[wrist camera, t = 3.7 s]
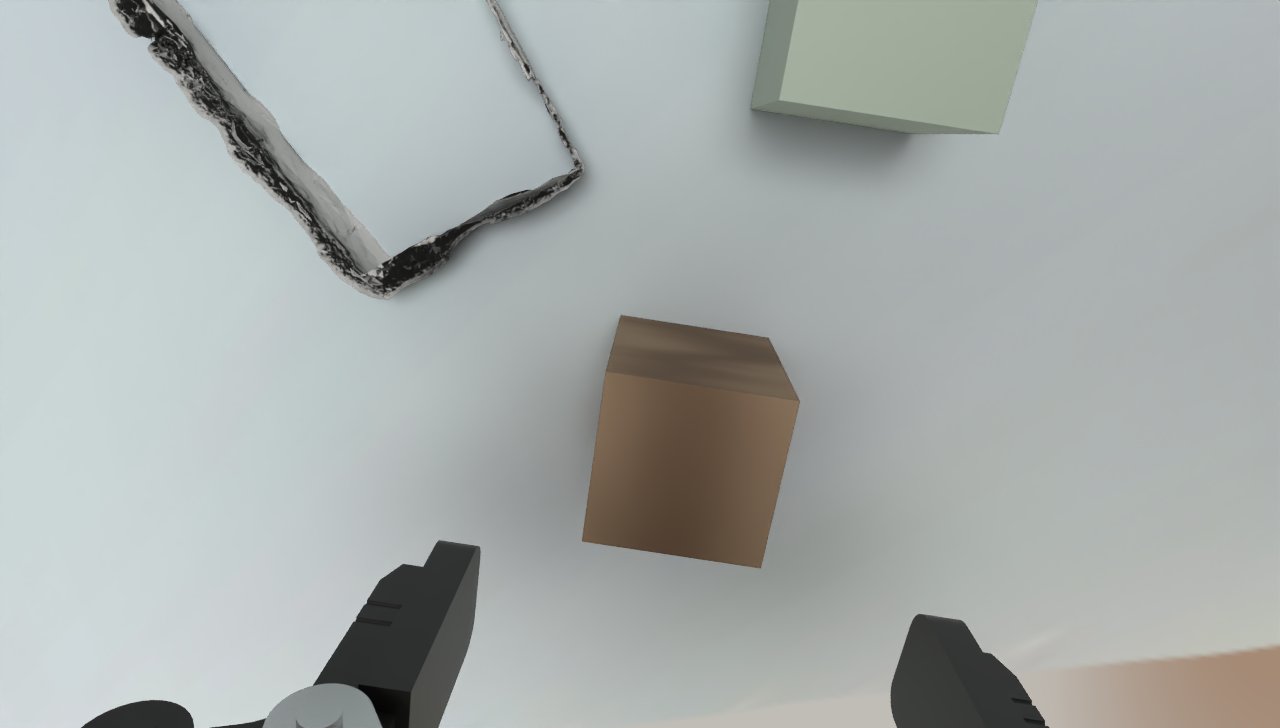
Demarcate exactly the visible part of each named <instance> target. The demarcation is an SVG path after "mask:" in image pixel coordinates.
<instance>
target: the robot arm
mask: <svg viewBox="0 0 1280 728" xmlns="http://www.w3.org/2000/svg"><path fill="white" fill-rule="evenodd" d="M479 565H480V547H479V546H474V545H467V544H460V543H454V542H447V541H440V540H439V541H438V542H437V543H436V545H435V547H434V549H433V550H432V552H431V554H430V556H429V558H428V559H427V561H426V563H425V565H424V567H420V566H413V565H406V564H402V565H401V566H400V567H398V568H397V569H395V570H394V571H392V572H391V573H389V574H388V575H387V576H385V577H384V578H382V579H381V580H380V581H379V583H378V584H377V586H376V587H375V589H374V591H373V592H372V594H371V595H370V597H369V598H368V600H367V604H365V605H364V606H363V608H362V609H361V611H360V613H359V614H358V616H357V618H356V621H355V622H353V623H352V625H351V627H350V628H349V630H348V631H347V633H346V634H345V636H344V638H343V639H342V641H341V642H340V644H339V645H338V647H337V649H336V650H335V652H334V653H333V655H332V656H331V658H330V660H329V661H328V663H327V664H326V666H325V667H324V669H323V671H322V672H321V674H320V675H319V677H318V678H317V680H316V682H315V683H314V685H313V686H311V687H307V688H305V689H302V690H299V691H297V692H295V693H293V694H291V695H290V696H288V697H287V698H285V699H283V700H282V701H281V702H280V703H279V704H277V705H276V706H275V707H274V709H273V710H272V711H271V712H270V713H269V715H268V716H267V718H266V719H262V720H259V721H255V722H251V723H245V724H238V725H229V726H221V727H212V728H438V727H439V724H440V721H441V719H442V716H443V713H444V711H445V708H446V706H447V703H448V700H449V698H450V695H451V692H452V690H453V687H454V685H455V682H456V679H457V677H458V674H459V672H460V669H461V666H462V664H463V661H464V658H465V656H466V653H467V650H468V647H469V643H470V639H471V635H472V630H473V624H474V618H475V607H476V597H477V586H478V576H479ZM891 709H892V714H893V718H894V721H895V723H896V726H897V728H1049V727H1048V726H1045V720H1044V719H1043V717H1042V716H1041V714H1040V713H1039V711H1038V710H1037V708H1036V706H1033V705H1032V700H1031V699H1030V697H1029V696H1028V694H1027V693H1026V691H1025V689H1024V688H1023V686H1022V685H1021V683H1020V682H1019V680H1018V679H1017V677H1016V676H1015V675H1014V674H1013V673H1012V672H1011V671H1010V670H1008V669H1007V668H1006V667H1005V666H1004V665H1003V664H1002V663H1001V662H1000V661H999V660H997V659H996V658H995V657H994V656H993V655H992V654H990V653H984V652H982V650H981V648H980V647H979V645H978V643H977V642H976V640H975V639H974V637H973V635H972V634H971V632H970V630H969V629H968V627H967V626H966V624H965V623H964V622H963V621H961V620H956V619H950V618H943V617H936V616H930V615H923V614H918V615H917V616H915V618H914V619H913V621H912V623H911V626H910V629H909V632H908V635H907V638H906V641H905V644H904V647H903V650H902V653H901V656H900V659H899V662H898V665H897V668H896V672H895V675H894V678H893V681H892V686H891ZM81 728H194V724H193V719H192V717H191V715H190V713H189V712H188V711H187V710H186V709H185V708H184V707H182V706H180V705H178V704H176V703H173V702H168V701H163V700H149V701H140V702H135V703H130V704H127V705H123V706H120V707H117V708H115V709H112V710H110V711H107V712H105V713H103V714H101V715H99V716H97V717H96V718H94V719H93V720H91V721H90V722H88V723H87V724H85V725H84V726H83V727H81Z"/></svg>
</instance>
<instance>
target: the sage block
mask: <svg viewBox="0 0 1280 728" xmlns="http://www.w3.org/2000/svg"><path fill="white" fill-rule="evenodd" d="M1037 2H1038V0H770V3H769V9H768V14H767V20H766V25H765V31H764V36H763V42H762V47H761V52H760V58H759V63H758V69H757V74H756V80H755V85H754V91H753V96H752V102H751V107H750V109H754V110H761V111H767V112H774V113H780V114H787V115H793V116H800V117H806V118H813V119H819V120H826V121H832V122H839V123H845V124H852V125H858V126H865V127H871V128H878V129H884V130H891V131H897V132H904V133H910V134H999V133H1000V129H1001V126H1002V122H1003V119H1004V115H1005V112H1006V109H1007V105H1008V102H1009V98H1010V95H1011V91H1012V88H1013V85H1014V81H1015V78H1016V74H1017V71H1018V67H1019V64H1020V60H1021V57H1022V54H1023V50H1024V47H1025V43H1026V40H1027V36H1028V33H1029V30H1030V26H1031V23H1032V19H1033V16H1034V12H1035V9H1036V6H1037Z"/></svg>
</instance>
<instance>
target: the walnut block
mask: <svg viewBox="0 0 1280 728" xmlns="http://www.w3.org/2000/svg"><path fill="white" fill-rule="evenodd" d="M799 403H800V401H799V399H798V397H797V394H796V392H795V390H794V388H793V386H792V384H791V382H790V380H789V378H788V376H787V374H786V372H785V370H784V368H783V366H782V364H781V362H780V360H779V358H778V356H777V354H776V352H775V350H774V348H773V346H772V344H771V342H770V340H769V338H766V337H759V336H753V335H746V334H740V333H733V332H727V331H720V330H714V329H707V328H701V327H694V326H688V325H681V324H675V323H668V322H662V321H655V320H649V319H642V318H636V317H629V316H623V315H621V317H620V320H619V324H618V328H617V332H616V335H615V339H614V343H613V347H612V350H611V354H610V358H609V361H608V365H607V369H606V374H605V381H604V388H603V395H602V402H601V409H600V416H599V423H598V430H597V437H596V445H595V452H594V459H593V466H592V473H591V480H590V487H589V494H588V501H587V508H586V516H585V523H584V530H583V537H582V541H583V542H590V543H596V544H603V545H610V546H616V547H623V548H629V549H636V550H643V551H649V552H656V553H663V554H669V555H676V556H682V557H689V558H696V559H702V560H709V561H715V562H722V563H729V564H735V565H742V566H749V567H755V568H761V565H762V561H763V556H764V552H765V548H766V544H767V539H768V535H769V531H770V527H771V522H772V518H773V514H774V510H775V505H776V501H777V497H778V493H779V488H780V484H781V480H782V476H783V471H784V467H785V463H786V459H787V454H788V450H789V446H790V441H791V437H792V433H793V429H794V424H795V420H796V416H797V412H798V407H799Z"/></svg>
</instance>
